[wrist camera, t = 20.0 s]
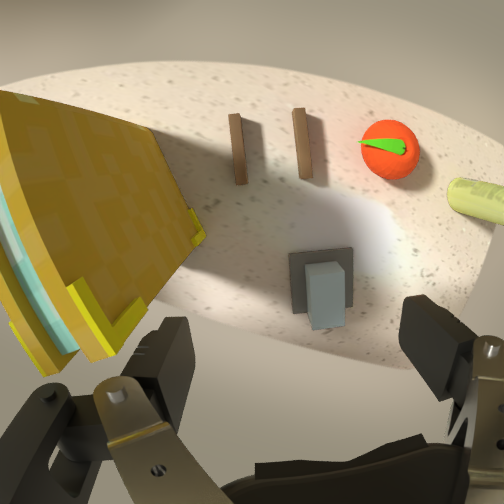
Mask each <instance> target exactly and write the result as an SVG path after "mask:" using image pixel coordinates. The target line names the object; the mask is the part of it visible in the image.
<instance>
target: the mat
mask: <svg viewBox="0 0 504 504" xmlns="http://www.w3.org/2000/svg"><path fill="white" fill-rule="evenodd" d="M330 261H337V262H338V264H339V265H340V266H341V267H342V269H343V270H344V271H345V308H348V307H352V305H353V248H341V249H331V250H321V251H311V252H301V253H290V254H289V262H290V276H291V291H292V307H293V314H298V313H307V312H308V307H307V290H306V275H305V264H314V263H322V262H330Z"/></svg>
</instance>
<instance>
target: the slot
mask: <svg viewBox="0 0 504 504" xmlns="http://www.w3.org/2000/svg"><path fill="white" fill-rule="evenodd" d="M228 116H229V125H230V134H231V143H232V152H233V161H234V170H235V179H236V185H243V184H248V177H247V168H246V159H245V150H244V141H243V132H242V123H241V116H240V114H239V113H236V114H229V115H228ZM292 117H293V125H294V134H295V143H296V152H297V161H298V171H299V178H300V179H308V178H313V175H312V165H311V155H310V145H309V136H308V128H307V120H306V112H305V108H294V109H293V111H292Z"/></svg>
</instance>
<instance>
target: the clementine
mask: <svg viewBox="0 0 504 504" xmlns="http://www.w3.org/2000/svg"><path fill="white" fill-rule="evenodd" d="M358 142H359V143H361V150H362V155H363V159H364V161H365V163H366V165H367V166H368V168H369V169H370V170H371V171H372V172H373V173H375V174H377V175H378V176H380V177H382V178H386V179H400V178H403V177H406V176H407V175H408V174H410V173H411V172H412V171H413V169H414V168H415V167H416V165H417V163H418V161H419V155H420V149H419V144H418V140H417V138H416V136H415V135H414V133H413V132H412V131H411V130H410V128H408V127H407V126H405V125H404V124H403V123H401V122H398V121H395V120H382V121H378V122H376V123H374V124H373V125H371V126H370V127H369V128H368V129H367V131H366V132H365V134H364V136H363V138H362V141H358Z"/></svg>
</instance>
